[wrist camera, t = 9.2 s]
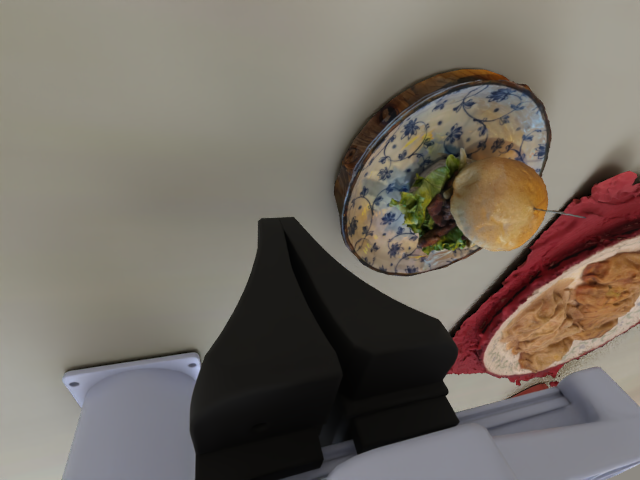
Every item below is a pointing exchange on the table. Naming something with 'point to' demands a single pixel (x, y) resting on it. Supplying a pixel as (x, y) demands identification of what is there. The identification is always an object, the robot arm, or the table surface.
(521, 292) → the plate with food
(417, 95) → the burger
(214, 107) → the table surface
